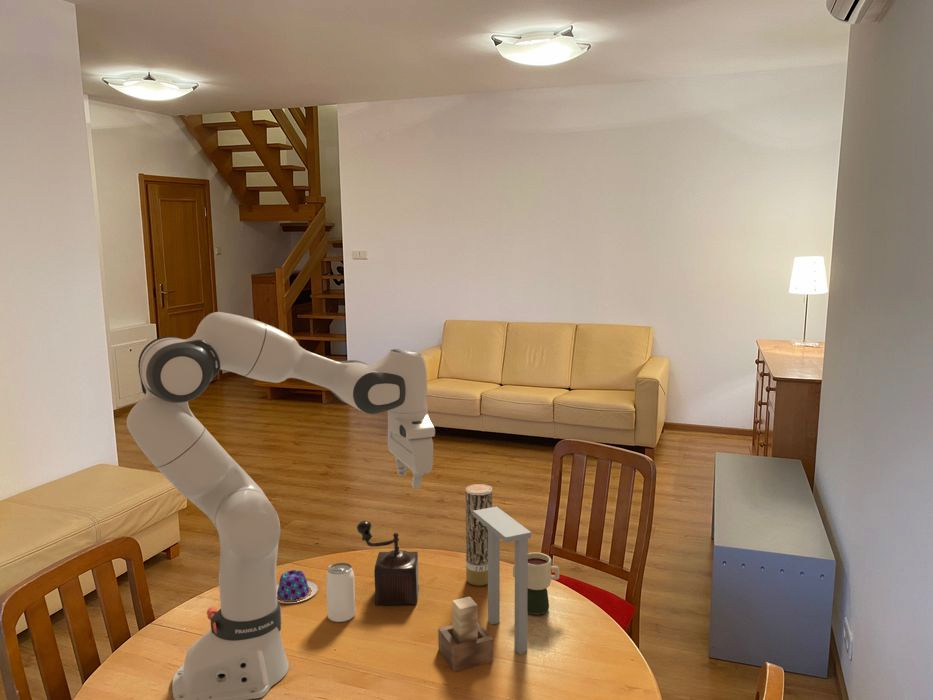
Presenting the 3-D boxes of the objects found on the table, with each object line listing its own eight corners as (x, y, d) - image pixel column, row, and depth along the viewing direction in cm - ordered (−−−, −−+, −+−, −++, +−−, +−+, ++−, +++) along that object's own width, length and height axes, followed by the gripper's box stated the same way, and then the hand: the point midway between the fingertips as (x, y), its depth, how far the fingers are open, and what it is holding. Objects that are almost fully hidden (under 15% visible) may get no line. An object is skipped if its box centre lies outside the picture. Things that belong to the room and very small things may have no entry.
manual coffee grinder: (419, 583, 181) (418, 517, 178) (417, 605, 170) (415, 535, 167) (359, 584, 181) (357, 518, 178) (353, 606, 170) (350, 536, 167)
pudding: (278, 581, 183) (277, 562, 182) (323, 583, 182) (322, 564, 181) (261, 605, 171) (260, 585, 170) (309, 607, 170) (308, 586, 169)
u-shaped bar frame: (505, 659, 148) (505, 537, 144) (473, 622, 162) (472, 510, 158) (530, 652, 150) (531, 532, 146) (496, 617, 164) (496, 506, 160)
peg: (460, 662, 147) (460, 609, 145) (453, 652, 150) (452, 600, 149) (477, 658, 148) (477, 605, 147) (469, 648, 152) (469, 596, 150)
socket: (454, 671, 144) (454, 649, 143) (438, 649, 151) (438, 628, 151) (493, 661, 147) (493, 639, 146) (475, 639, 155) (475, 618, 154)
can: (349, 624, 162) (347, 575, 160) (323, 621, 163) (321, 573, 161) (359, 610, 168) (357, 563, 166) (333, 607, 169) (332, 560, 167)
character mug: (557, 603, 171) (558, 552, 169) (559, 618, 164) (560, 566, 162) (513, 601, 172) (513, 551, 170) (512, 616, 165) (513, 564, 163)
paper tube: (460, 580, 183) (460, 488, 179) (479, 572, 187) (479, 482, 183) (478, 589, 178) (478, 495, 174) (497, 580, 182) (497, 488, 178)
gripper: (380, 413, 163) (381, 470, 165) (409, 434, 145) (411, 498, 147) (405, 410, 166) (406, 466, 168) (438, 430, 147) (439, 493, 149)
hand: (409, 481), depth 157 cm, fingers open, 8 cm apart
